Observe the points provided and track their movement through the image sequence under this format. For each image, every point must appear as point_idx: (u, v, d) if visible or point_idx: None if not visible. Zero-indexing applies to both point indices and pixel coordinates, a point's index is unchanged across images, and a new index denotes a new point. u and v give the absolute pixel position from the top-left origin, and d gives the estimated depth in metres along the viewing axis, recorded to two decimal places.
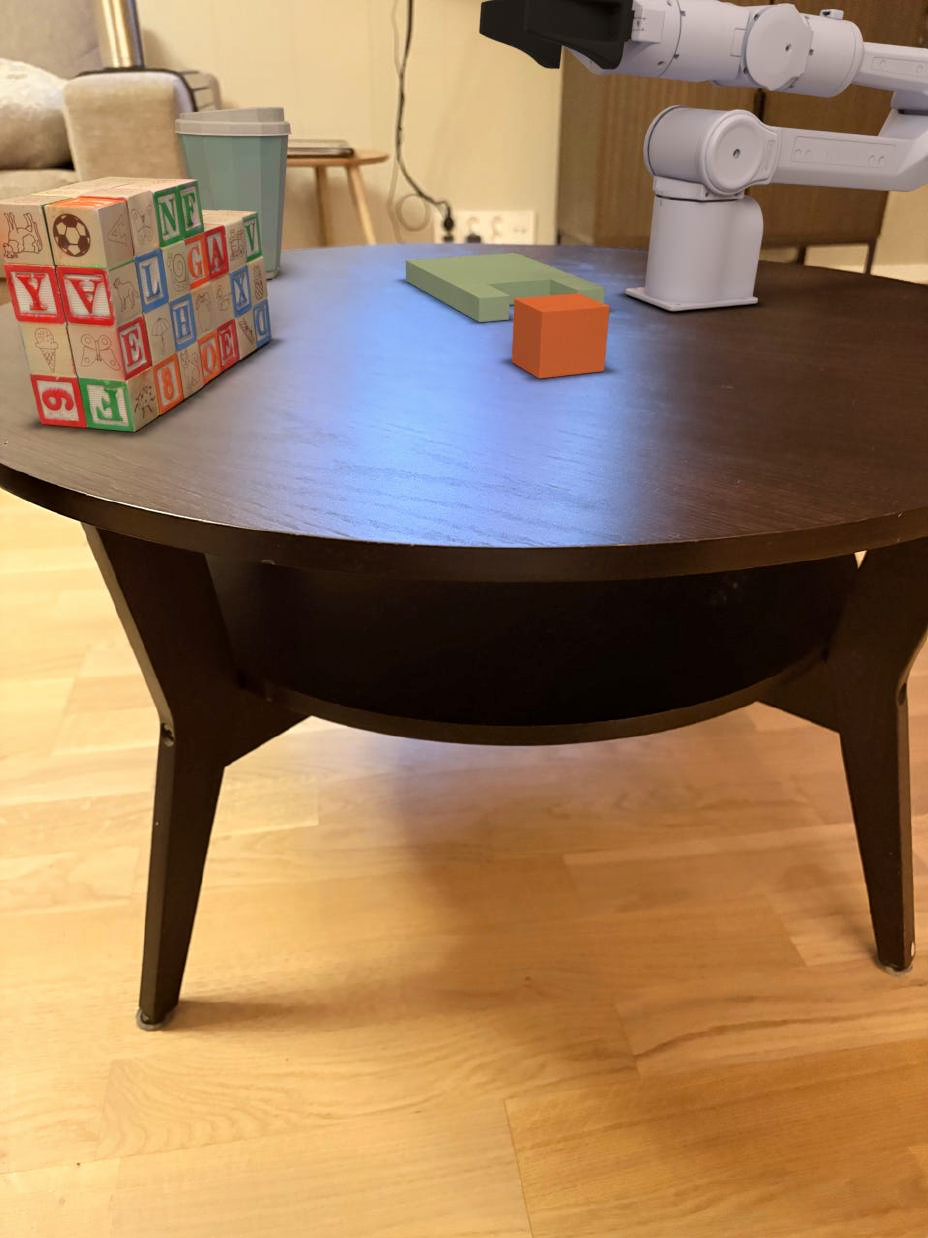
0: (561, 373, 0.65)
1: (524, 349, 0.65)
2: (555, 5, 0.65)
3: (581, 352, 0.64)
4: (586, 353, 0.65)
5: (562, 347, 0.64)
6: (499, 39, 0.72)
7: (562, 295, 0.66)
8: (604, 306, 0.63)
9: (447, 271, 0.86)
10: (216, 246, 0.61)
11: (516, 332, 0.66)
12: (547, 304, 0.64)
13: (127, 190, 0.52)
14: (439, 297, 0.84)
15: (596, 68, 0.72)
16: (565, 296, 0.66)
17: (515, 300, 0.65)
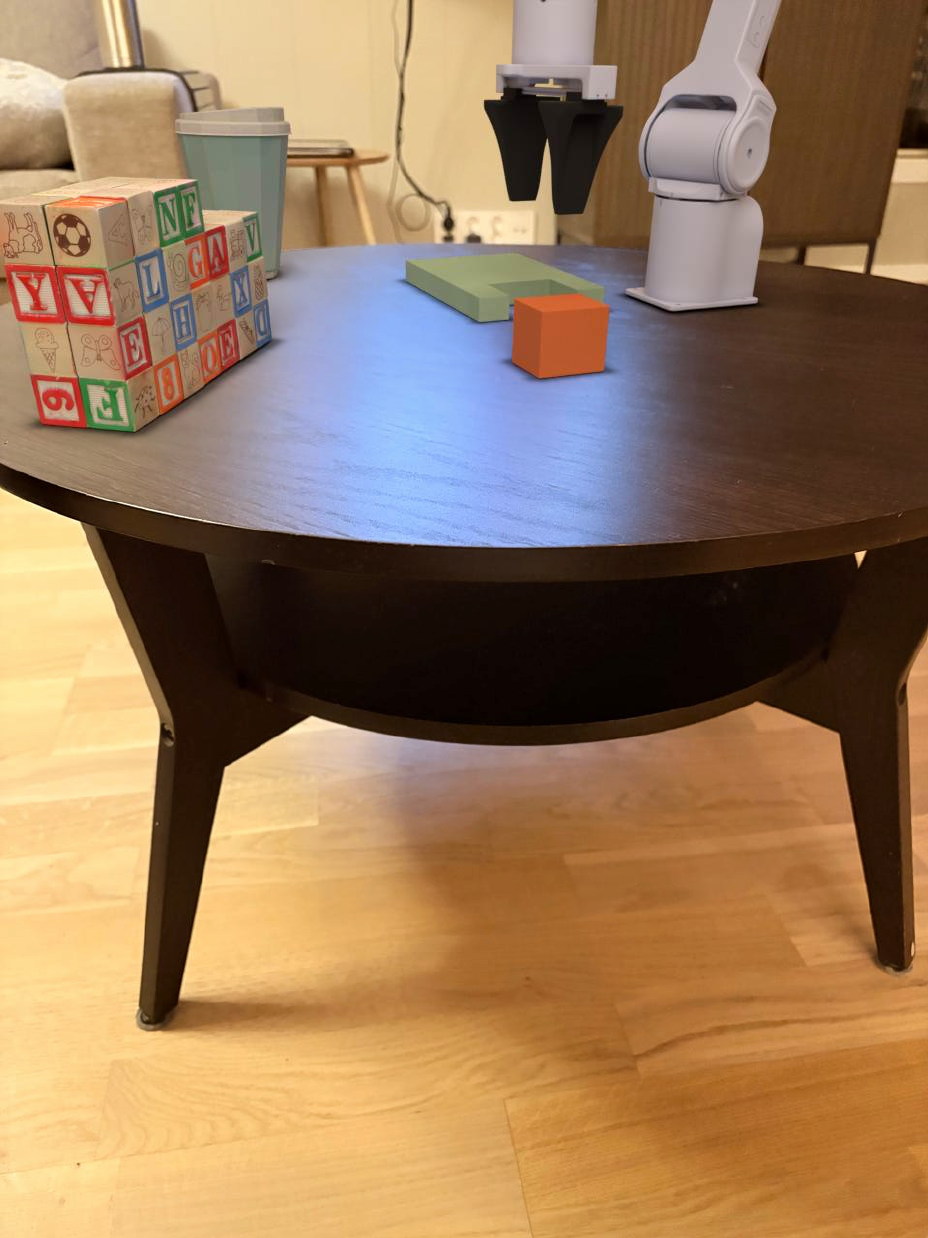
0: (561, 373, 0.65)
1: (524, 349, 0.65)
2: (566, 185, 0.65)
3: (581, 352, 0.64)
4: (586, 353, 0.65)
5: (562, 347, 0.64)
6: (539, 179, 0.72)
7: (562, 295, 0.66)
8: (604, 306, 0.63)
9: (447, 271, 0.86)
10: (216, 246, 0.61)
11: (516, 332, 0.66)
12: (547, 304, 0.64)
13: (127, 190, 0.52)
14: (439, 297, 0.84)
15: None
16: (565, 296, 0.66)
17: (515, 300, 0.65)
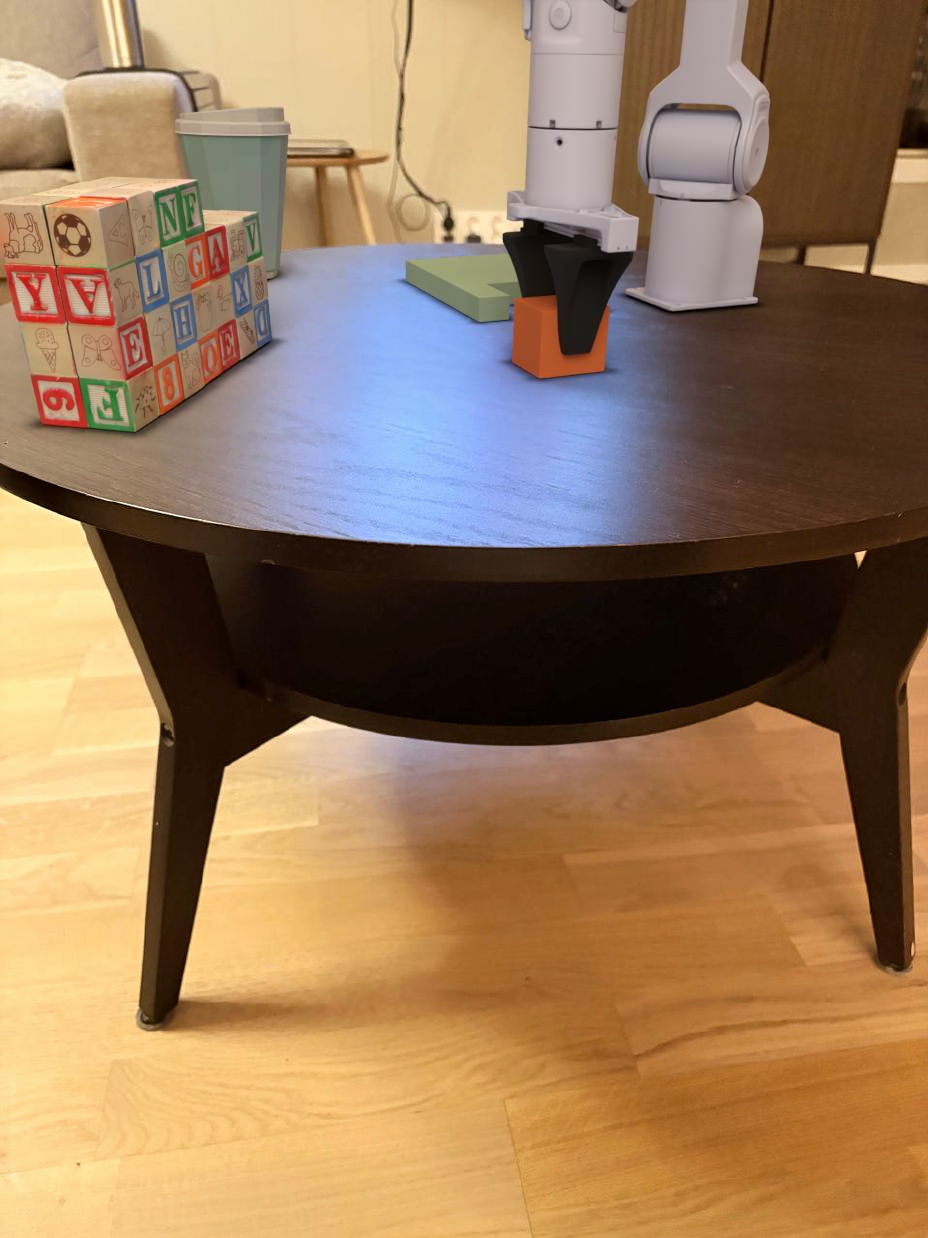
0: (561, 373, 0.65)
1: (524, 349, 0.65)
2: (573, 326, 0.62)
3: None
4: (587, 353, 0.65)
5: None
6: None
7: None
8: None
9: (447, 271, 0.86)
10: (217, 246, 0.61)
11: (517, 332, 0.66)
12: (547, 304, 0.64)
13: (128, 190, 0.52)
14: (439, 297, 0.84)
15: None
16: None
17: (516, 300, 0.65)
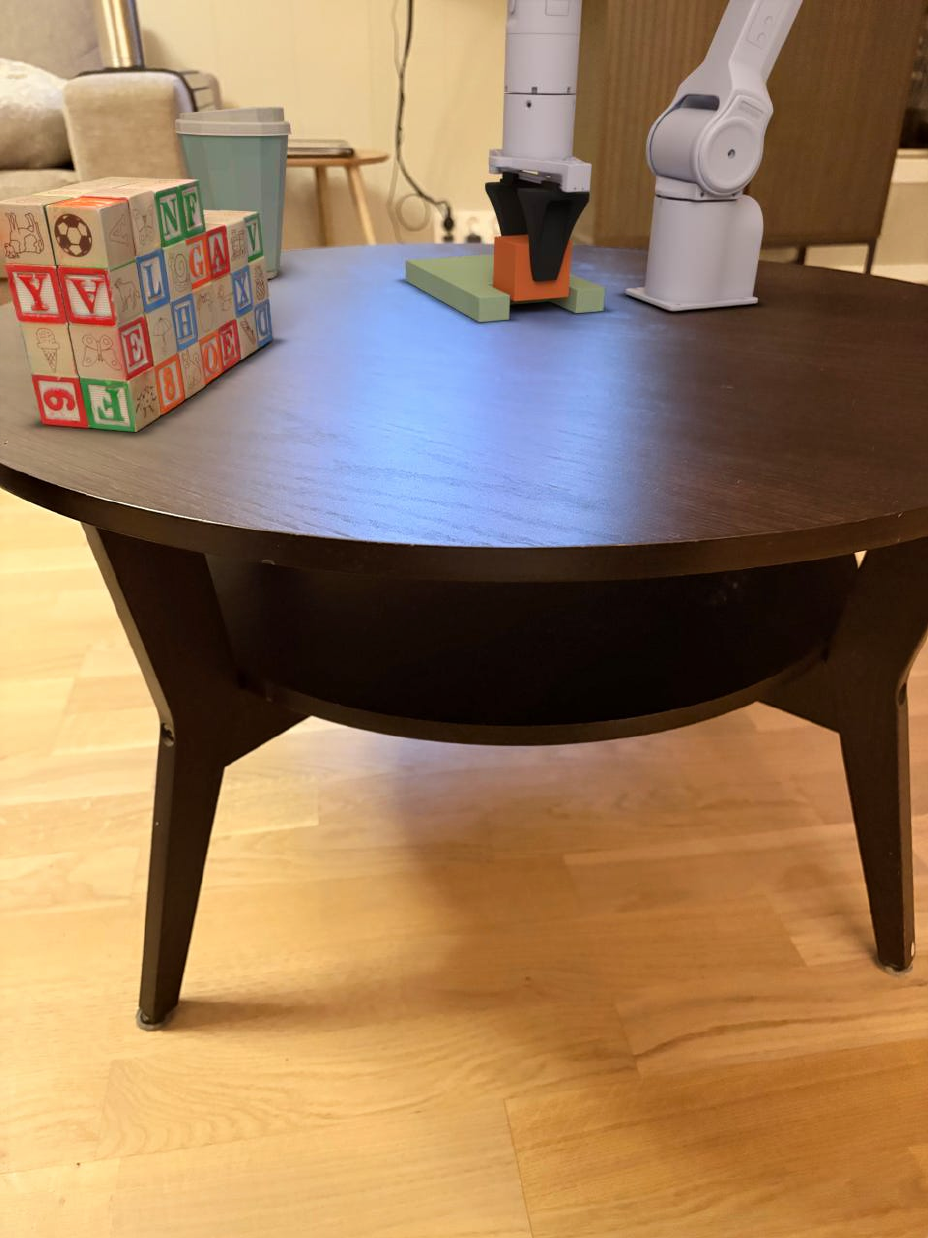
0: (532, 297, 0.79)
1: (502, 278, 0.79)
2: (541, 257, 0.77)
3: None
4: (553, 281, 0.79)
5: None
6: None
7: None
8: None
9: (447, 271, 0.86)
10: (218, 246, 0.61)
11: (496, 264, 0.80)
12: (521, 240, 0.78)
13: (128, 190, 0.52)
14: (439, 297, 0.84)
15: None
16: None
17: (495, 237, 0.79)
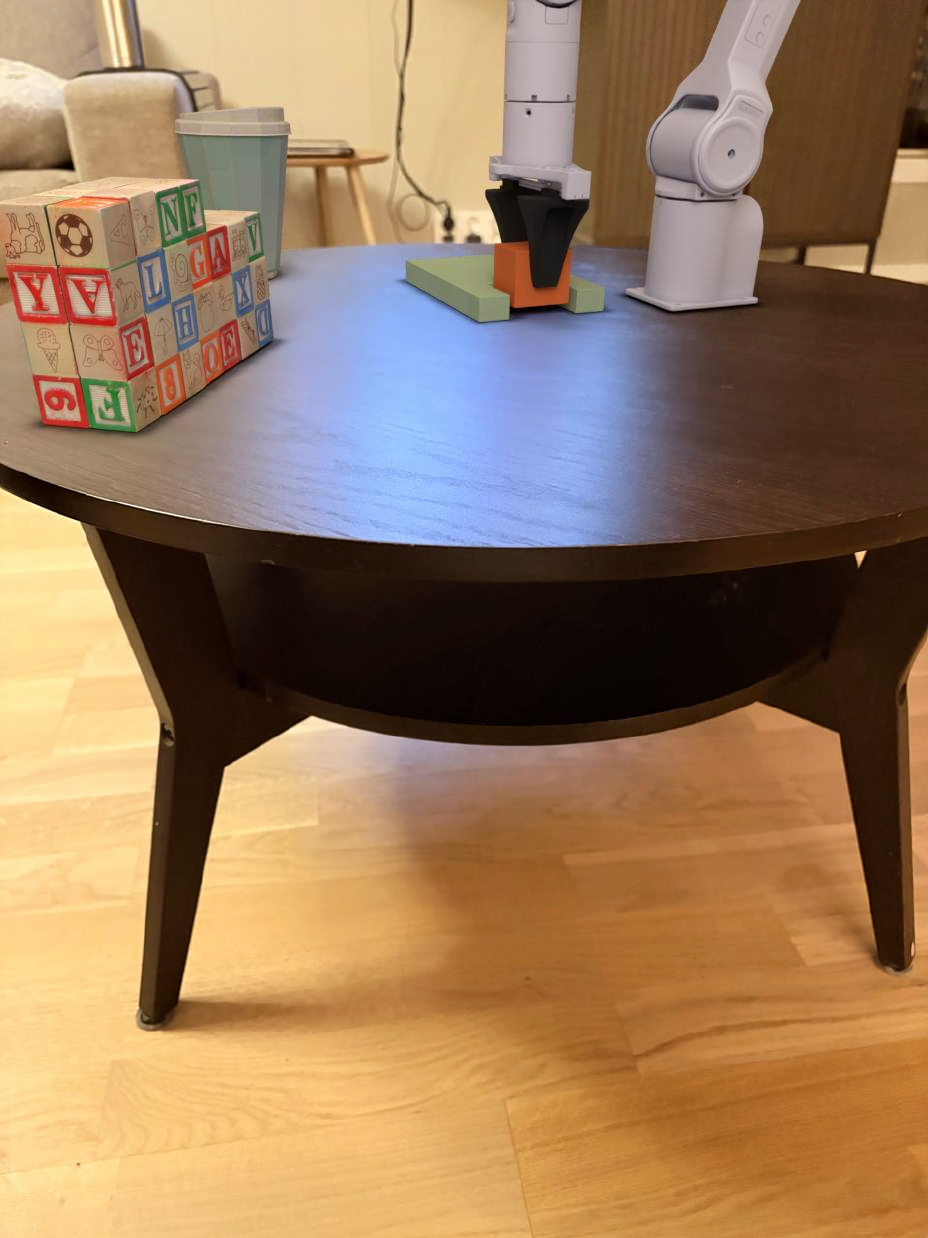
0: (532, 304, 0.79)
1: (503, 285, 0.80)
2: (542, 263, 0.77)
3: None
4: (553, 288, 0.79)
5: None
6: None
7: None
8: None
9: (447, 271, 0.86)
10: (218, 246, 0.61)
11: (496, 271, 0.80)
12: (521, 247, 0.78)
13: (129, 190, 0.52)
14: (439, 297, 0.84)
15: None
16: None
17: (495, 244, 0.80)
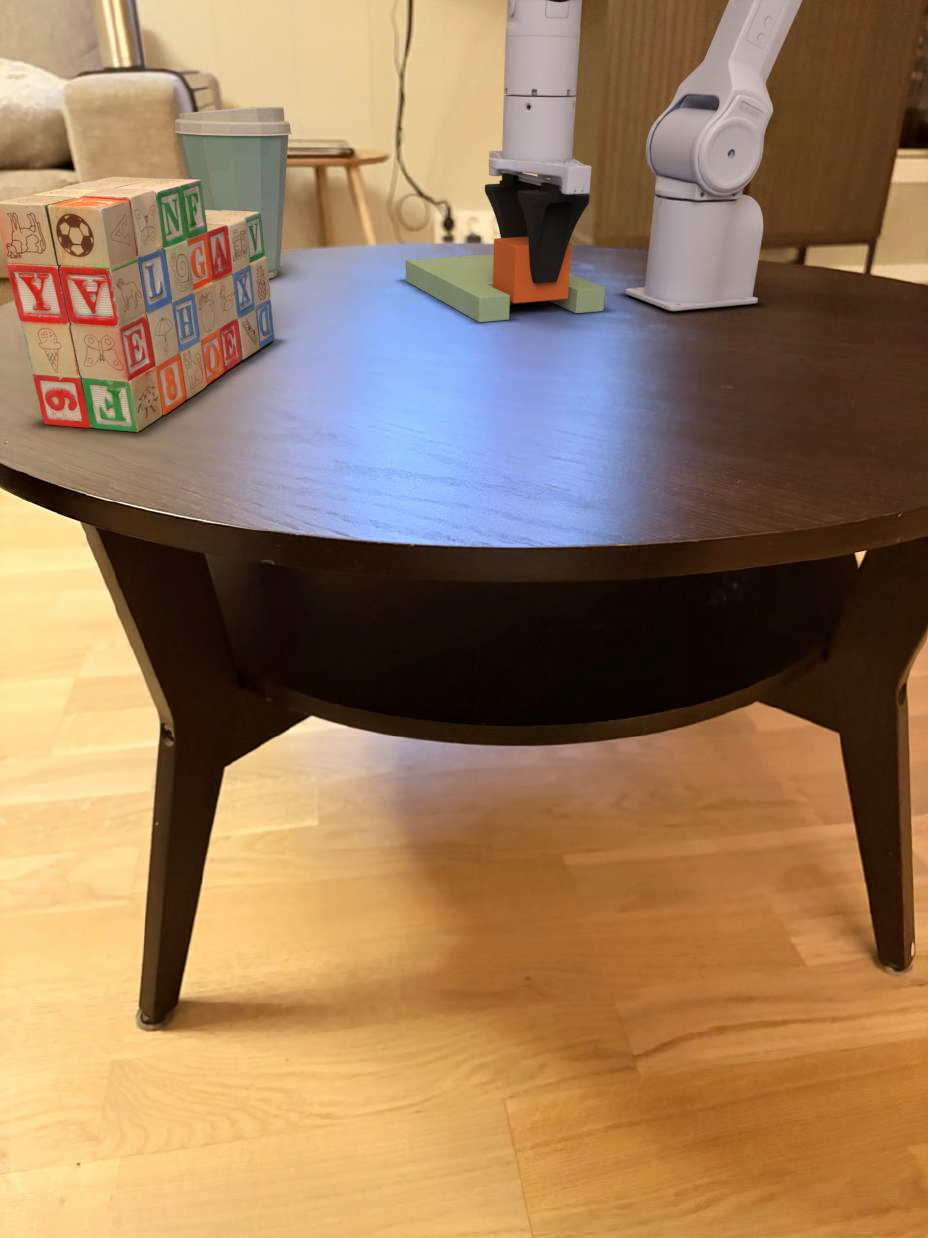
0: (532, 299, 0.79)
1: (502, 280, 0.80)
2: (541, 259, 0.77)
3: None
4: (553, 283, 0.79)
5: None
6: None
7: None
8: None
9: (447, 271, 0.86)
10: (219, 246, 0.61)
11: (496, 266, 0.80)
12: (520, 242, 0.78)
13: (130, 190, 0.52)
14: (439, 297, 0.84)
15: None
16: None
17: (495, 239, 0.79)
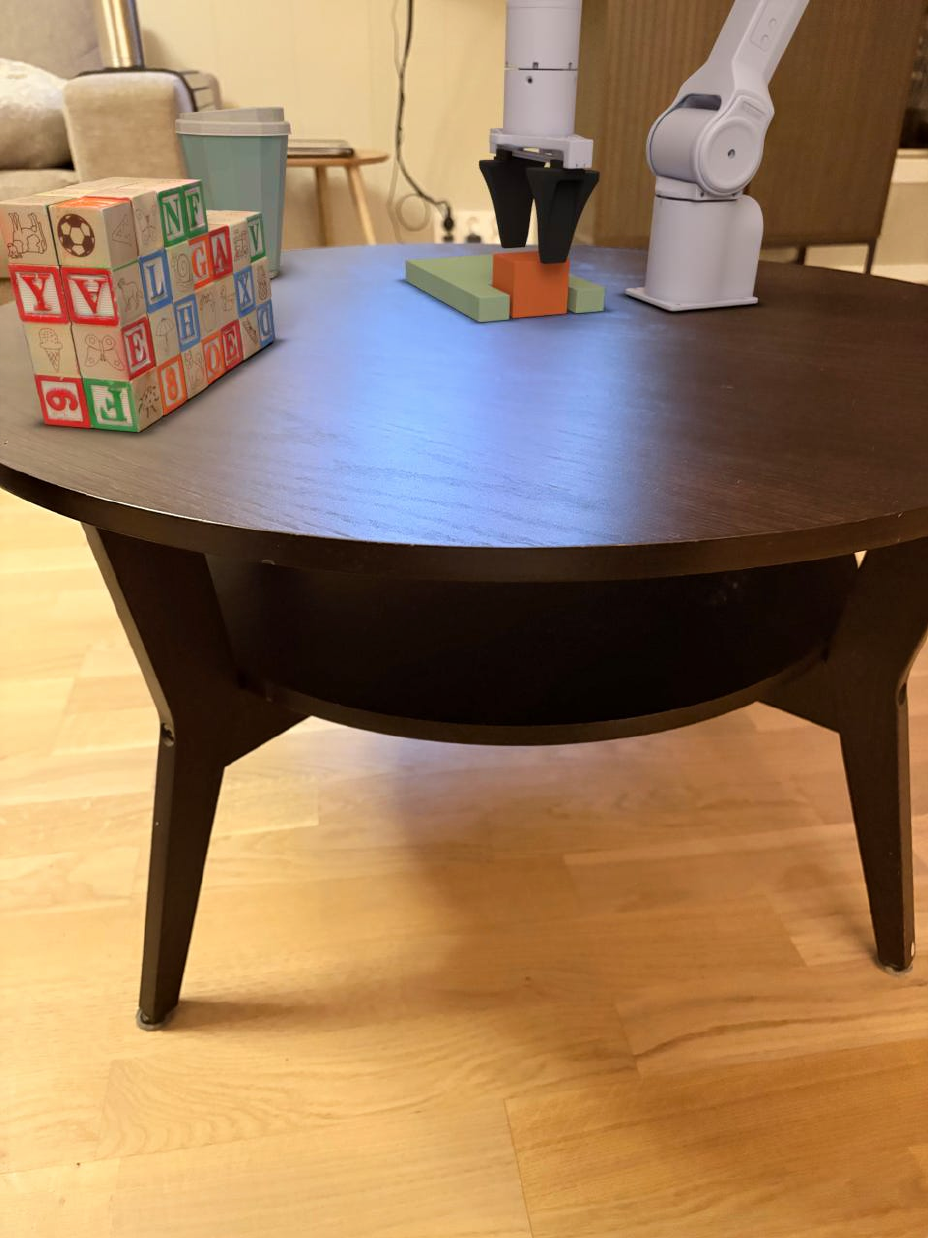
0: (531, 314, 0.80)
1: None
2: (550, 238, 0.75)
3: (548, 297, 0.79)
4: (551, 298, 0.80)
5: (531, 292, 0.79)
6: (528, 228, 0.82)
7: (532, 251, 0.81)
8: None
9: (447, 271, 0.86)
10: (220, 246, 0.61)
11: (495, 281, 0.81)
12: (519, 257, 0.79)
13: (131, 190, 0.52)
14: (439, 297, 0.84)
15: None
16: (535, 252, 0.81)
17: (494, 255, 0.80)
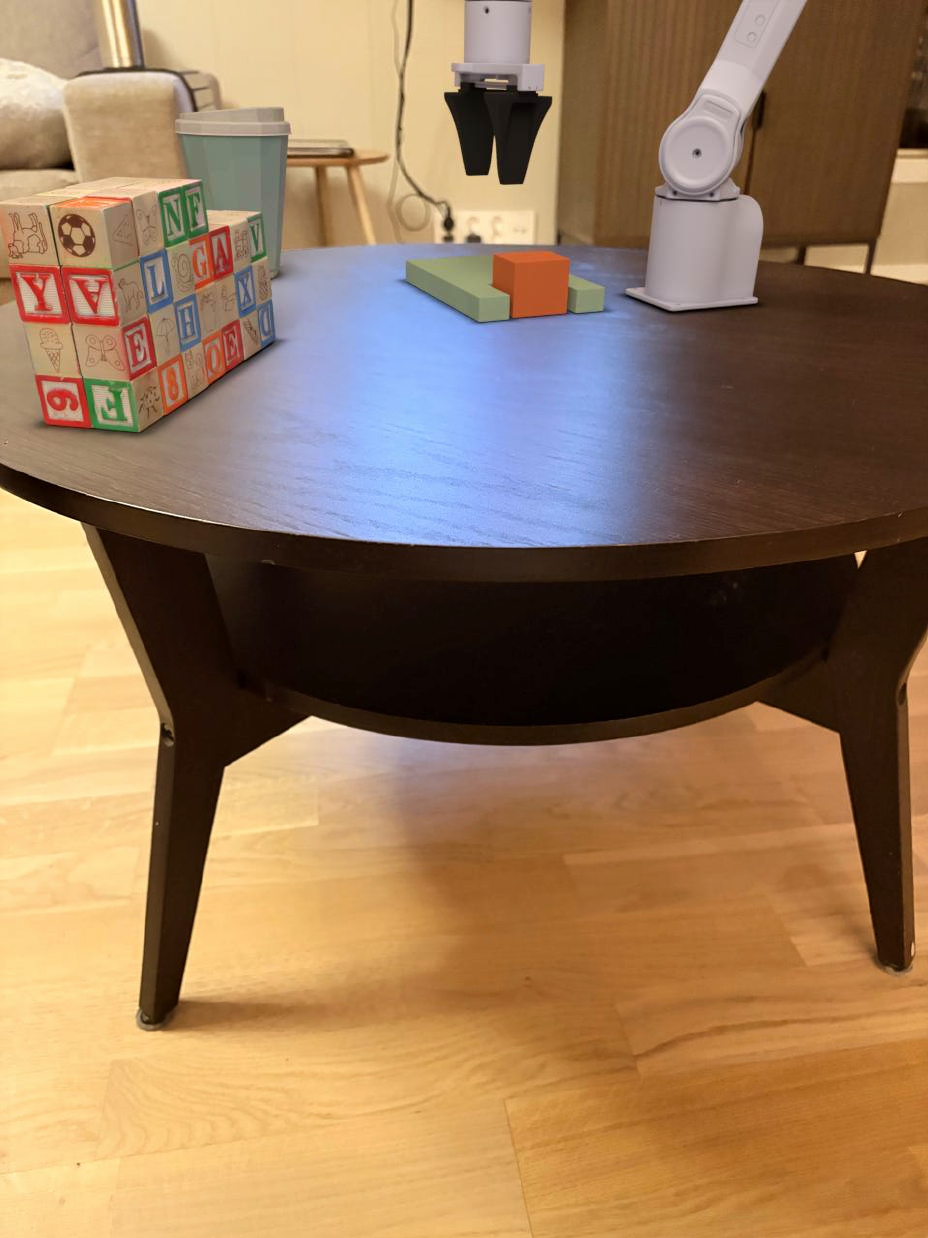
0: (531, 314, 0.80)
1: None
2: (508, 160, 0.81)
3: (548, 297, 0.79)
4: (551, 298, 0.80)
5: (531, 292, 0.79)
6: (491, 157, 0.88)
7: (532, 251, 0.81)
8: (565, 259, 0.78)
9: (447, 271, 0.86)
10: (221, 246, 0.61)
11: (495, 281, 0.81)
12: (519, 257, 0.79)
13: (132, 190, 0.52)
14: (439, 297, 0.84)
15: None
16: (535, 252, 0.81)
17: (494, 255, 0.80)
